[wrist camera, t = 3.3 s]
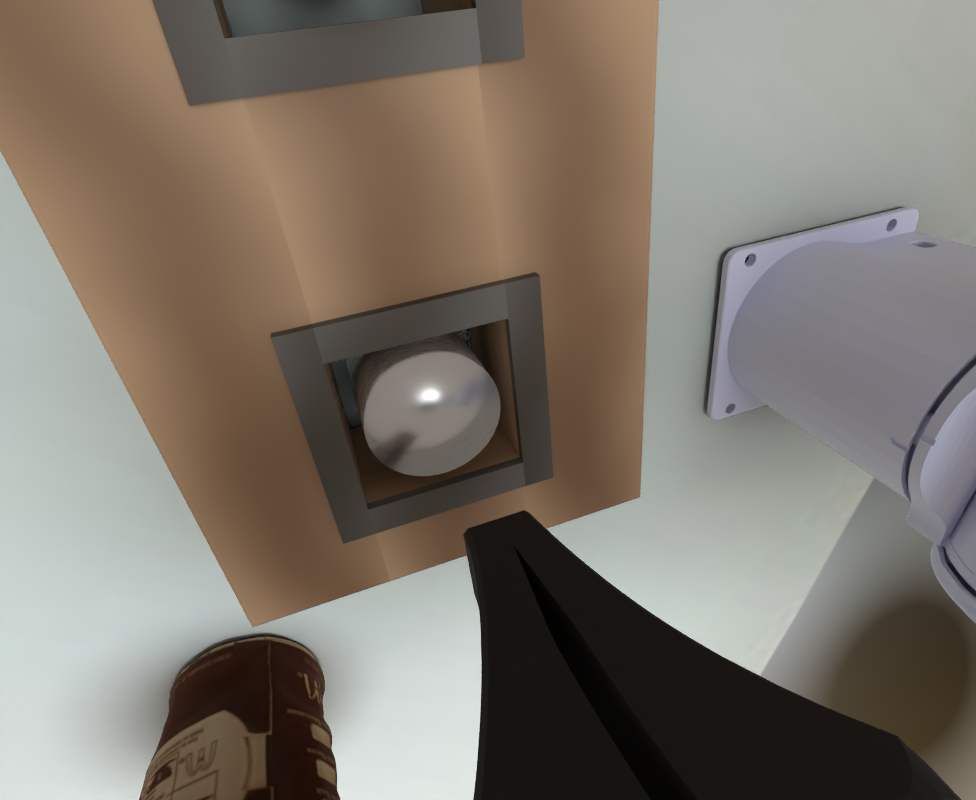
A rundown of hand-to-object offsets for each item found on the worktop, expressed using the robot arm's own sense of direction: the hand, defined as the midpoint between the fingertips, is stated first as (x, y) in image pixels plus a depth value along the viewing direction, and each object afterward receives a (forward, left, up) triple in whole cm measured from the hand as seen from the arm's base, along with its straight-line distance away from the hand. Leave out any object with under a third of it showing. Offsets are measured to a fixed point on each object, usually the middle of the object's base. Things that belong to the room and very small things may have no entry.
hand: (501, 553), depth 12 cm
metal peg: (0, 0, -10) cm, 10 cm away
